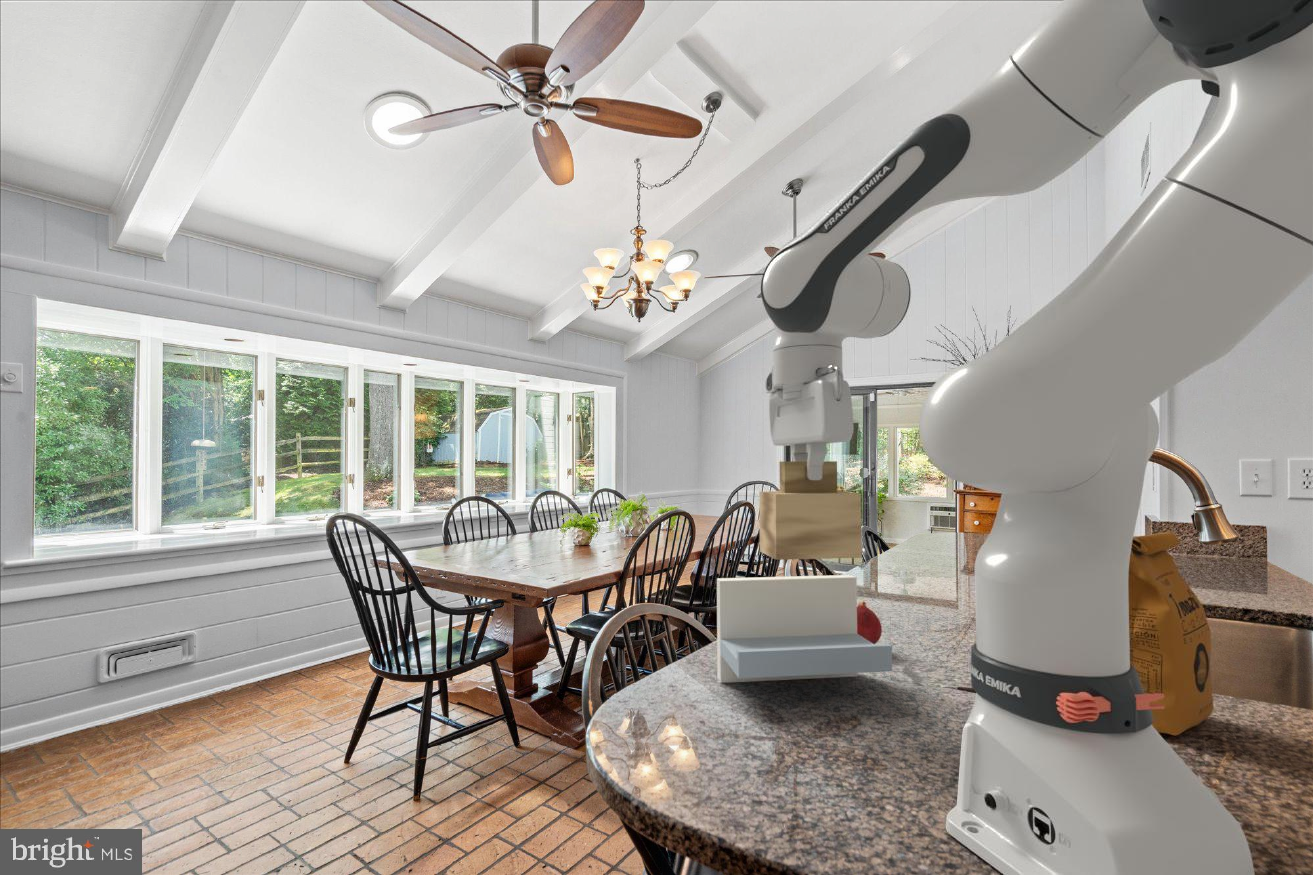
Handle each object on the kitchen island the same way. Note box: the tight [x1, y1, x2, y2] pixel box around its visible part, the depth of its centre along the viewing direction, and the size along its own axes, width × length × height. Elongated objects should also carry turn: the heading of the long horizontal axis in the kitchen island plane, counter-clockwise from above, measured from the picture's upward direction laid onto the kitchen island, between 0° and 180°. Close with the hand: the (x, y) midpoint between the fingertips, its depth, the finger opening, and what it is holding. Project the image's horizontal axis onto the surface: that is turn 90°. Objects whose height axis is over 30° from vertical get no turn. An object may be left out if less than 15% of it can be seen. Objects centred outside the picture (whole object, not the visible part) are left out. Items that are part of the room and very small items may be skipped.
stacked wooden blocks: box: [758, 460, 863, 561], centre depth 81 cm, size 7×11×12 cm, turn 97°
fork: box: [902, 665, 976, 694], centre depth 84 cm, size 3×16×2 cm, turn 59°
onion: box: [857, 600, 883, 644], centre depth 101 cm, size 6×6×8 cm
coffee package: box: [1128, 531, 1214, 736], centre depth 74 cm, size 10×12×22 cm
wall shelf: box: [716, 574, 893, 684], centre depth 84 cm, size 12×20×14 cm, turn 97°
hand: (808, 479), depth 81 cm, fingers closed on stacked wooden blocks
